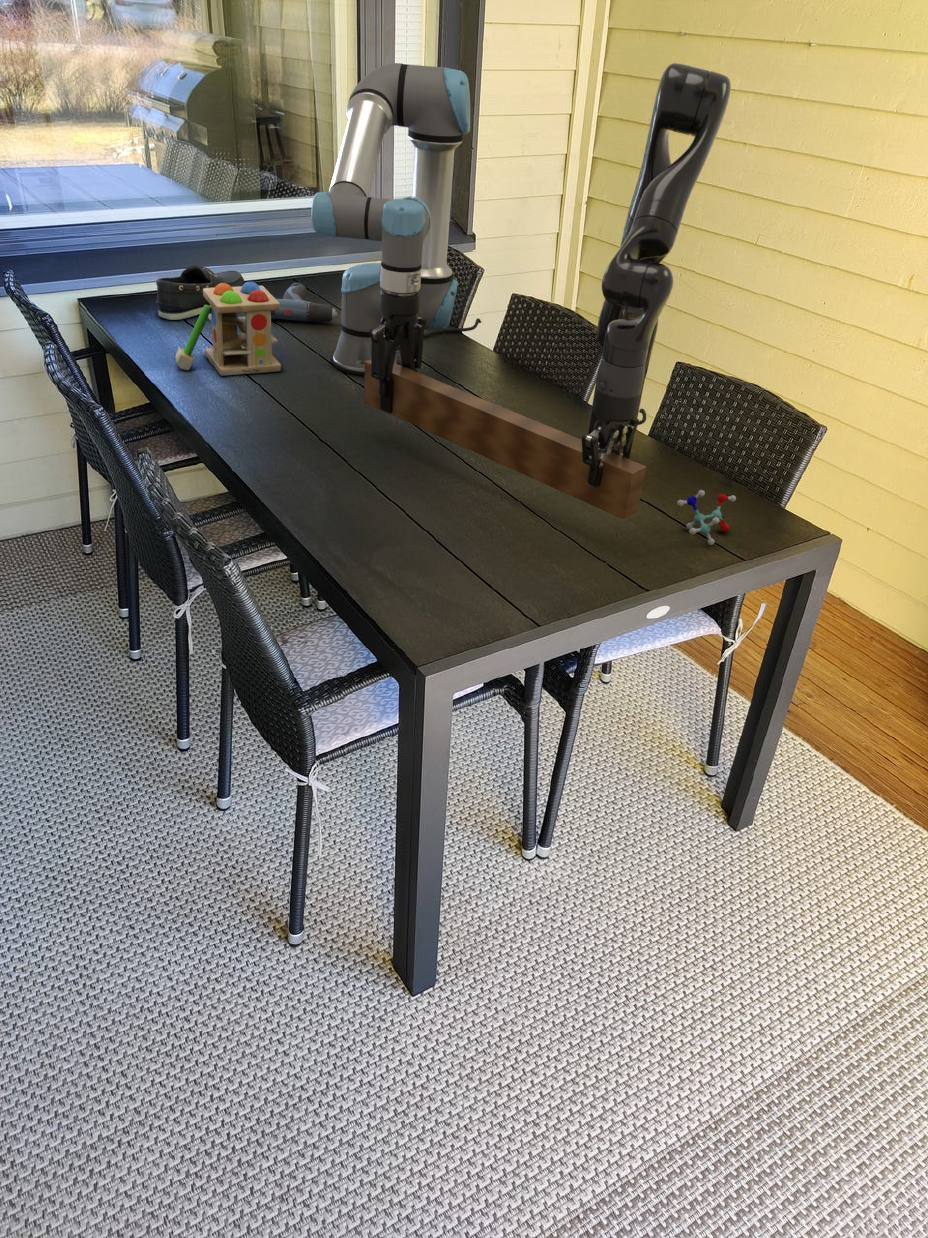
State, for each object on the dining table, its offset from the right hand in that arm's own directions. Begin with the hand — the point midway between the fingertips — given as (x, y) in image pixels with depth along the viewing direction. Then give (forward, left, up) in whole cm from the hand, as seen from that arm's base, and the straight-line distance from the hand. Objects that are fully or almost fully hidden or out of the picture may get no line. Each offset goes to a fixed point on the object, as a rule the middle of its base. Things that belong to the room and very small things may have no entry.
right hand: (601, 480), depth 169 cm
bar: (-13, -22, -4) cm, 25 cm away
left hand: (-25, -43, -3) cm, 50 cm away
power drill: (-99, -87, -12) cm, 133 cm away
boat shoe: (-94, -114, -12) cm, 148 cm away
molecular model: (-9, +19, -12) cm, 24 cm away
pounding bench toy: (-54, -91, -12) cm, 107 cm away
